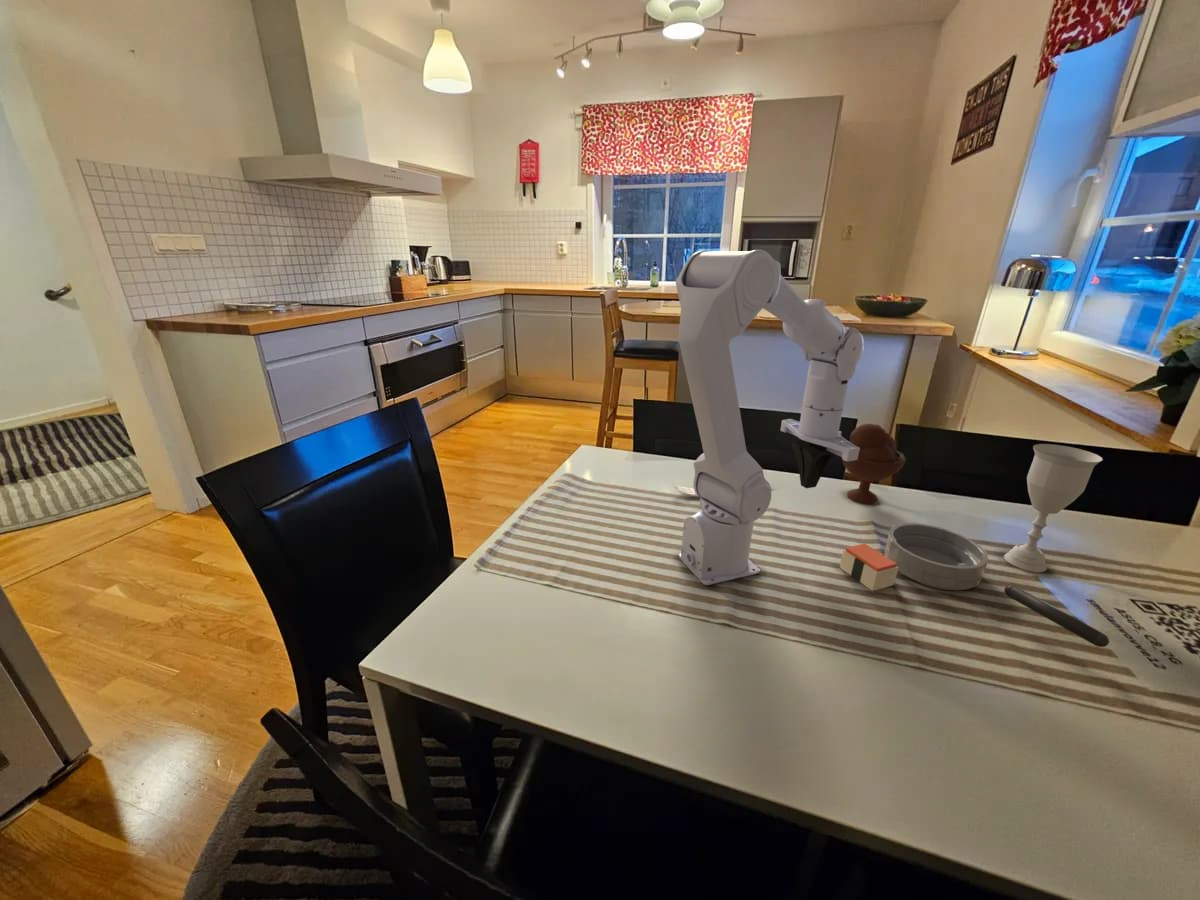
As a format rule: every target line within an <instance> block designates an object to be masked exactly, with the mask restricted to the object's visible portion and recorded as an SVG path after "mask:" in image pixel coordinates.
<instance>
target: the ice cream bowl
mask: <svg viewBox="0 0 1200 900" xmlns="http://www.w3.org/2000/svg"><path fill="white" fill-rule="evenodd" d="M849 439H850V440H849V442H850V443H851V444H853V445H855V446H857V447H859V448H860V450H859V454H858V459H857V460H854V461H845V460H843V459H842V458H841V461H842V464H843V467H845V469H846V470H847V471H848V472H849V473H850V474H851V475H853V476H854V477H856V478H858V479H859V481H860V482H859V486H858V487H857V488H854V489H853V488H852V489H850V490H848V491H847V492H846V498H847V499H849V500H850V501H852V502H854V503H858V504H862V505H875V504H877V503H878V502H879V498H878V496H877V495H876V494H875V493H874V492H872V491H871V490H870V488H871V484H872V482H878V481H881V480H882V481H883V480H885V479H888V478H889V477H891V476H893V475H895V474H897V473H899V472H900V471H901V469H903V467H904V465H905V464H906V461H907V458H906V456H905V455H904V453H903V452H901V451H899V450H897V441H896V440H895V439H894V437H893V436H891V435H890V433H889V432H887V431H886V429H884V428H883V427H882V426H881V425H879V424H874V423H864V424H860V425H859V426H857V427H855V428H854V430H852V432H851V433H850V435H849Z"/></svg>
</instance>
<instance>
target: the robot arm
mask: <svg viewBox="0 0 1200 900" xmlns="http://www.w3.org/2000/svg"><path fill="white" fill-rule="evenodd" d="M781 268H782V267H781V263H780V261H778V260H776V259H774V258H773V257H772V255H771V254H770V253H769V252H767V251H766V250H763V249H753V250H750V251H749V250H742V251H741V250H740V251H739V250H738V251H734V250H733V251H710V250H705V249H704V250H698V251H695V252H694V253H692V254H691V255H690V256H689V257H688V259H687V260H686V261H685V263H684V265H683V267H682V269H681V271H680V273H679V275H678V277H677V279H676V281H675V287H676V291H677V295H678V296H677V297H678V301H679V305H680V314H679V315H680V316H679V327H678V343H679V349H680V353H681V358H682V362H683V365H684V371H685V375H686V379H687V383H688V384H687V385H688V388H689V393H690V397H691V402H692V406H693V411H694V415H695V420H696V425H697V428H698V433H699V438H700V442H701V446H702V451H703V453H701V454H700V455H699V456H698V457H697V458H696V460H694V461H693V468H694V477H693V487H694V491H695V493H696V495H697V496H696V497H698V498H700V500H699V506H701V507H702V508H701V509H700V510H699V511H698V512H697V513H695V514H692V515H689V516H688V517H686V518H685V519H684V522H683V528H682V540H681V551H680V553H678V558H679V559H680V561H682V563H683V564H684V565H685V566H686V567H687V569H689V570H690V571H691V572H692V574H694V576H695V577H696V578H697V579H698V580H699V582H700V583H702V584H703V586H710V585H714V584H719V583H723V582H727V581H733V580H736V579H741V578H744V577H748V576H752V575H757V574H760V573H761V568H759V567H758V566H757V565H756V564H755V563H754V562H753V561H751V560H750V559H749V558H750V553H751V552H750V550H751V544H752V536H753V530H754V522H755V521H757V520H758V519H760V518H761V517H762V516H763V515H764V514H765V513H766V512H767V510H768V509H769V506H770V504H771V500H772V488H771V484H770V482H769V481H768V480H766V477H765V474H764V469H763V467H762V466H761V465H760V464H759V463H758V461H756V460H755V459H754V458H753V456H752V455H751V454H750V453H749V452H748V451H747V446H746V440H745V433H744V427H743V422H742V416H741V409H740V404H739V398H738V397H739V396H738V392H737V385H736V379H735V374H734V368H733V367H734V366H733V361H732V356H731V351H730V349H731V348H730V343H731V341H732V339H734V338H736V337H738V336H740V335H742V333H744V331H745V330H746V329H747V328H748V326H749V325H750V324H751V323H752V321H753V320H754V319H755V318H756V317H757V315H758V314H759V313H760V312H761V311H762V310H763V309H764V310H765V311H766V312H768V313H770V314H771V315H773V316H774V317H776V318H777V319H779V320H780V321H781V322H782V330H783V333H784V335H785V336H786V337H787V338H789V340H791V341H792V342H794V343H795V344H796V345H797V346H798V347H800V348H801V349H802V355H803V359H804V360H805V361H809V363H808V369H807V370H808V371H807V376H806V383H805V388H804V394H803V400H802V407H801V411H800V419H799V421H798V420H795V419H793V418H788V419H782V420H781V425H780V432H783V433H788V434H791V435H793V436H795V437H797V438H798V439H799V440H798V441H797V442H793V443H791V449H792V451H793V453H794V456H795V458H796V462H797V466H798V472H799V483H800V486H801V487H803V488H805V489H811V488H816V487H817V485H818V483H819V481H820V480H821V477H822V475H823V474H824V472H825V470H826V469H827V467H828V466H829V465H830V463H831V462H832V461H833V460H834V459H835V458H836V457H837V456H839V457H841V460H842V459H843V460H845V461H854V460H857V459H858V454H859V450H860V448H859V447H857V446H855V445H853V444H851V443H850V440H847V439H846V438H844V437H843V436H842V431H841V430H840V427H841V421H842V416H843V411H844V406H845V401H846V397H847V392H848V386H849V381H850V379H852V378H853V376H854V375H855V373H856V367H857V365H858V363H859V361H860V360H861V358H862V356H863V354H864V350H865V346H864V337H863V334H862V333H861V332H860V331H859V330H858V329H857V328H855V327H851V326H845V325H844V324H843V323H842V322H841V318H839V316H837V315H834V314H832V313H831V312H830V311H829V310H828V309H827V308H826V305H827V303H826V302H825V301H824V300H823V299H817V298H811V299H809V298H808V299H803V297H801V296H800V294H799V293H798V292H797V291H796V290H795V289H794V288H793V286H791V284H790V283H789V282H788V281H787V280H786V279H785V278H784V276H783V275H782V274H781V273H782V271H781V270H782V269H781Z"/></svg>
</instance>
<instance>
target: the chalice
mask: <svg viewBox="0 0 1200 900" xmlns="http://www.w3.org/2000/svg"><path fill="white" fill-rule="evenodd" d="M1032 449H1033V452H1034V456H1033V460H1032V462H1031V465H1030V467H1029V470H1028V473H1027V475H1026V484H1027V492H1028V496H1029V499H1030V503H1031V506H1032V508H1033V509H1034V510H1036V511H1038V513H1037V514H1038V515H1037V517H1036V518H1035V519H1034V520H1033V521H1032V524H1033V528H1032V529H1031V530H1030V531H1027V534H1028V536H1029V537H1028V540H1027V542H1026V543H1023V544H1021V543H1020V544H1017V545H1015V546H1013V547H1012V548H1011V549H1010V550H1009V551H1008V552H1007V553H1005V554H1004V555H1003V558H1004V560H1005V561H1006V562H1007V563H1009V564H1010V565H1012V566H1014V567H1016V568H1019V569H1021V570H1024V571H1027V572H1032V573H1033V572H1034V573H1043V572H1046V571H1047V569H1048V568H1047V565H1046V563H1047V562H1046V559H1045V557H1046V556H1045V554H1044V553H1043V551H1042V550H1040V549H1039V547H1038V545H1037V544H1038V542H1039V541H1040V539H1042V538H1044V535H1043V534H1042V530H1043V529H1044V528H1046V527H1047V526H1048V524H1047V517H1048V516H1049V515H1053V514H1054V515H1055V514H1058V513H1060V512H1061V511H1062V510H1064V509H1065V508H1067V507H1068V506H1069V505H1071V504H1072V503H1073V502H1075V500H1077V499H1078V498H1079V497H1080V496H1081V495H1082V494H1083V493H1084V492H1085V490H1086V487H1087V485H1088V483H1089V480H1090V478H1091V475H1092V473H1093V471H1094V468H1095V466H1097V465H1098V464H1099V463H1101V462H1102V461H1103V457H1102V456H1100V455H1099V454H1097V453H1093V452H1091V451H1089V450H1088V451H1087V450H1084V449H1081V448H1076V447H1072V446H1066V445H1061V444H1053V443H1052V444H1051V443H1037V444H1033V446H1032Z"/></svg>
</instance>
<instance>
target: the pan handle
mask: <svg viewBox="0 0 1200 900" xmlns="http://www.w3.org/2000/svg"><path fill="white" fill-rule="evenodd" d="M1004 593H1005V595H1006V596H1007V597H1008V598H1010V599H1012V600H1013V601H1016V602H1018V603H1019V604H1021V605H1022V606H1024V607H1027V608H1028V609H1030V610H1031V611H1034V612H1035V613H1036V614H1039V615H1040V616H1042V617H1043V618H1045V619H1048V620H1049V621H1051V622H1053V623H1054V624H1057V625H1058V626H1060V627H1062V628H1063V629H1064V630H1065V629H1066V630H1067V631H1069V632H1070V633H1072V634H1074V635H1076V636H1077V637H1079V638H1081V639H1083V640H1084V641H1086V642H1088V643H1090V644H1092V645H1093V646H1096V647H1099V648H1103V647H1104V648H1105V647H1107V646H1108V645H1109V644H1110V638H1109V637H1108V636H1107V634H1105V633H1103V632H1102V631H1099V630H1098V629H1096V628H1094V627H1093V626H1090V625H1089V624H1088V623H1085V622H1083V621H1082V620H1079V619H1078V618H1076V617H1074V616H1072V615H1070V614H1068V613H1066V612H1064V611H1062V610H1061V609H1059V608H1057V607H1056V606H1053V605H1051V604H1050V603H1048V602H1046V601H1045V600H1042V599H1040V598H1038V596H1035V595H1034V594H1031V593H1029V592H1027V591H1026V590H1024V589H1022V588H1020V587H1018V586H1017V585H1013V584H1009V585H1007V586H1005V587H1004Z"/></svg>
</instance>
